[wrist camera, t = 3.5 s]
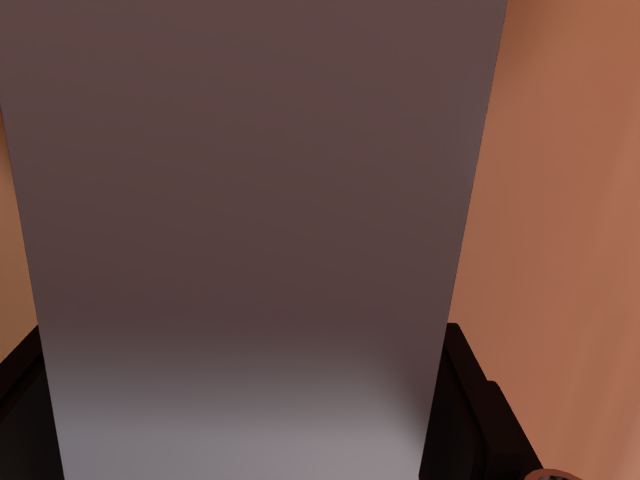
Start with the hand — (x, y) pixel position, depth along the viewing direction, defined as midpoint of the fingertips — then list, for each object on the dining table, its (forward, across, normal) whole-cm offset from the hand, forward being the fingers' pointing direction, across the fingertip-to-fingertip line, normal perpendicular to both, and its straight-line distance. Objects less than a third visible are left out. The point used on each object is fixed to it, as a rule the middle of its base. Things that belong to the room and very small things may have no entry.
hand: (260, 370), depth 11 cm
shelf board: (-1, 0, 0) cm, 1 cm away
